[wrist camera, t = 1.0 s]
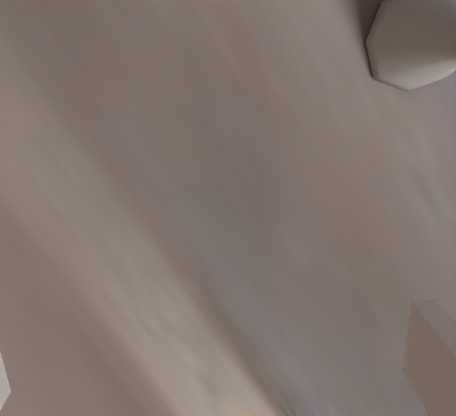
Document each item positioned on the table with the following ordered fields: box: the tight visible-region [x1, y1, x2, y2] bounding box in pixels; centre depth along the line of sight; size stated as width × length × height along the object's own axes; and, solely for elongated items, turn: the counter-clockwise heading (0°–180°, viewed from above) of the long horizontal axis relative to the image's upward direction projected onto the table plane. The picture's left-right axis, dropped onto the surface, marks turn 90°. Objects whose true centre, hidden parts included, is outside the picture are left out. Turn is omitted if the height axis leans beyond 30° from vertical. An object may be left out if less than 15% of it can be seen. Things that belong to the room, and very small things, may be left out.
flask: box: [366, 0, 456, 91], centre depth 28 cm, size 7×7×10 cm
